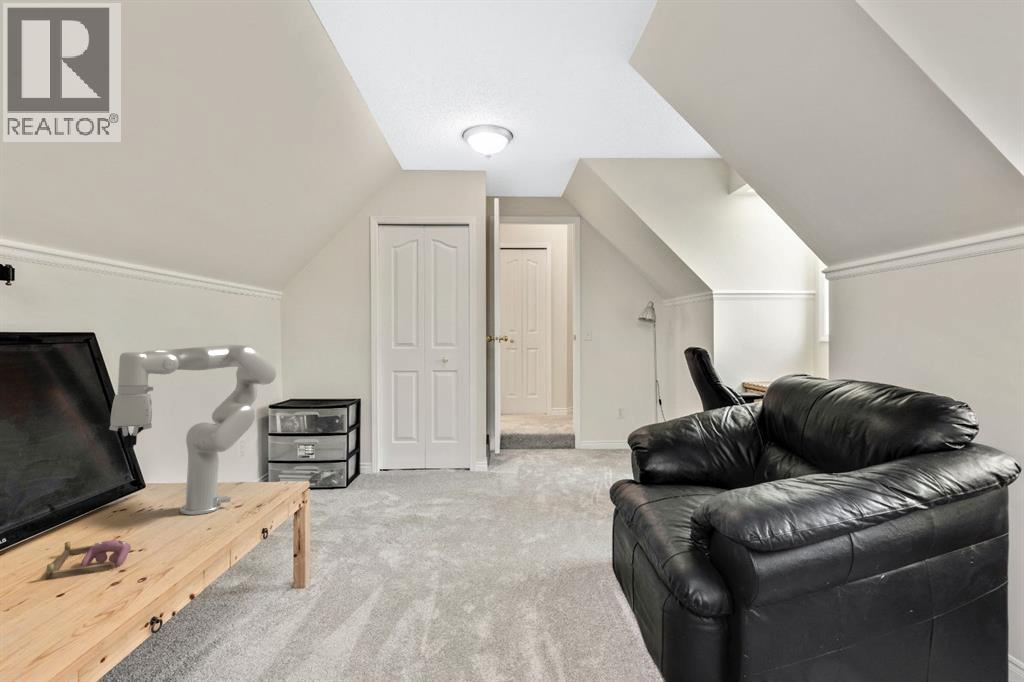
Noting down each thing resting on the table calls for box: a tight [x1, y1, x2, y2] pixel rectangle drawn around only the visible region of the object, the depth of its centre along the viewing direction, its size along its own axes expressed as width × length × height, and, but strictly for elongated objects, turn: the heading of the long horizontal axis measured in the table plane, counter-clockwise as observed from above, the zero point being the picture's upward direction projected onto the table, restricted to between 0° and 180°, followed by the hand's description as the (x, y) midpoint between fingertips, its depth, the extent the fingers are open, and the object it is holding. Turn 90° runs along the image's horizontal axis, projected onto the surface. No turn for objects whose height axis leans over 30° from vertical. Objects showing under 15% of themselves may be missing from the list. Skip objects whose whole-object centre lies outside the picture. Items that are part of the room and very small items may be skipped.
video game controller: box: [80, 539, 132, 567], centre depth 132 cm, size 10×5×7 cm, turn 101°
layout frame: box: [45, 541, 114, 581], centre depth 132 cm, size 13×16×4 cm
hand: (130, 447), depth 153 cm, fingers closed
